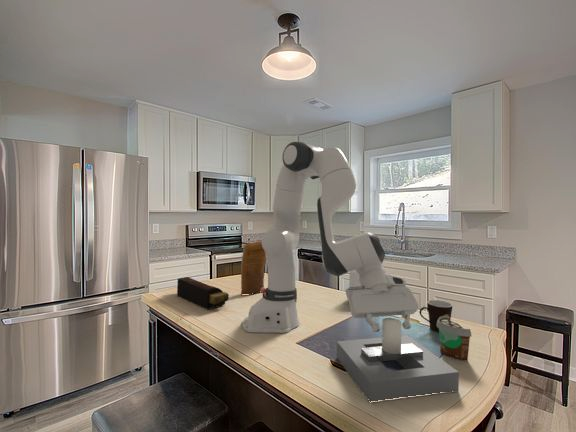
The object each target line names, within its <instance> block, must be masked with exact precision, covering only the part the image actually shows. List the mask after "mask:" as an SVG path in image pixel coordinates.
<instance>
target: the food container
mask: <svg viewBox="0 0 576 432" xmlns="http://www.w3.org/2000/svg"><path fill="white" fill-rule="evenodd" d="M437 327H438V328H439V332H438V333H439V335H438V336H439V350H440V352H441V354H443V356H446V357H448V358H450V357H451V358H450V359H453V358H454V360H457V359H458V360H459V361H465V360H466V361H468V360H469V359H468V358H469V350H470V339H471V338H472V331H471V329H470V328H464V327H462V325H460V324H459V323H457V322H454V321H452V320H451V319H450V320H449V319H447V316H442V317H439V319H438V321H437ZM458 360H457V361H458Z"/></svg>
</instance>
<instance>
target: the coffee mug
mask: <svg viewBox="0 0 576 432" xmlns="http://www.w3.org/2000/svg"><path fill="white" fill-rule="evenodd" d="M426 305H427V307H426V306H423V307H421V308H420V309H419V312H418V313H419V315H420V317H422V319H424V320H425V321H426V322H428V323H429V329H430V330H431V331H433V332H435V333H439V328H438V327H437V321H438V319H439V317H442V316H447V319H449V320H450V321H451V319H452V312H453V311H452V310H453V306H454V305H453V304H452V303H450V302H449V301H445V300H440V299H431V300H428V301H426ZM425 309H426V310H427V311H428V312H427V313H428V318H426V317H424V315H423V314H422V312H423V310H425Z"/></svg>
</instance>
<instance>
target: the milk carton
mask: <svg viewBox="0 0 576 432" xmlns="http://www.w3.org/2000/svg"><path fill="white" fill-rule="evenodd" d="M357 286H361V285H360V282H359V275H358V273H357V272H356V270H352V271H349V287H357ZM349 287H348V288H349Z"/></svg>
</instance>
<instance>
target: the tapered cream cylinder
mask: <svg viewBox="0 0 576 432" xmlns="http://www.w3.org/2000/svg"><path fill="white" fill-rule="evenodd" d="M381 321H382V324H381V325H382V327H381V329H382V331H381V334H382V335H381V338H382V350H383V351H385V352H387V353H390V354H399V353H400V352H401V336H402V321H401V320H400V319H397V318H392V317H386V318H382V320H381Z"/></svg>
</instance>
